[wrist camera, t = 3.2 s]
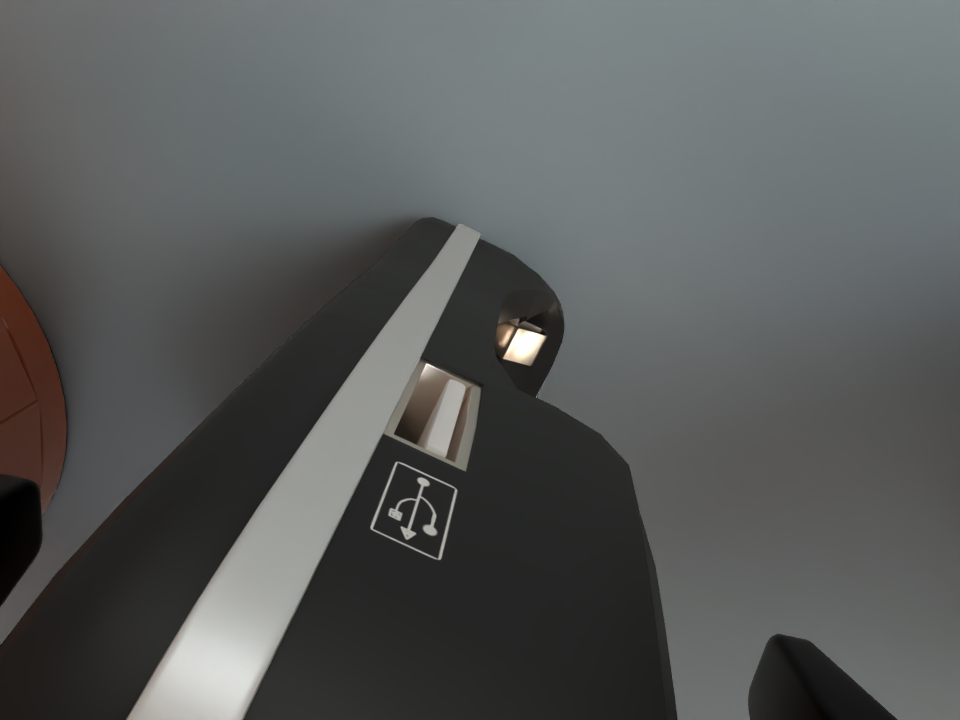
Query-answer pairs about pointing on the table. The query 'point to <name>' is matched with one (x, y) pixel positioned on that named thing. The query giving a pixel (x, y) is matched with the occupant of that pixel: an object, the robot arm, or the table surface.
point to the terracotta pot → (29, 397)
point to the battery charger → (370, 532)
